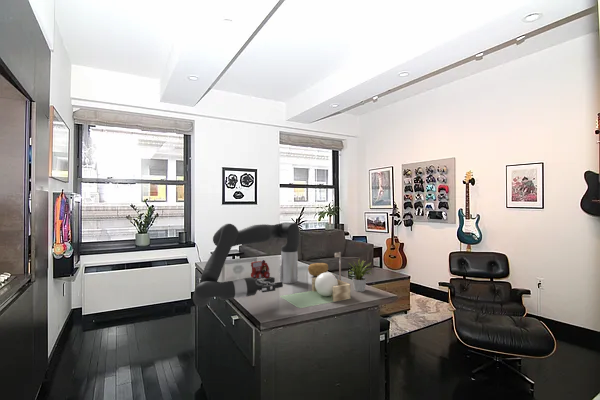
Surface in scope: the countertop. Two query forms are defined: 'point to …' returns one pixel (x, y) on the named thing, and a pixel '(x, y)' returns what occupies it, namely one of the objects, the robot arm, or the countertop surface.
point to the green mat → (307, 299)
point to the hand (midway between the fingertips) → (278, 282)
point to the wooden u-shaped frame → (342, 289)
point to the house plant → (359, 276)
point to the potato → (317, 268)
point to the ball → (325, 284)
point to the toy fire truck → (260, 269)
